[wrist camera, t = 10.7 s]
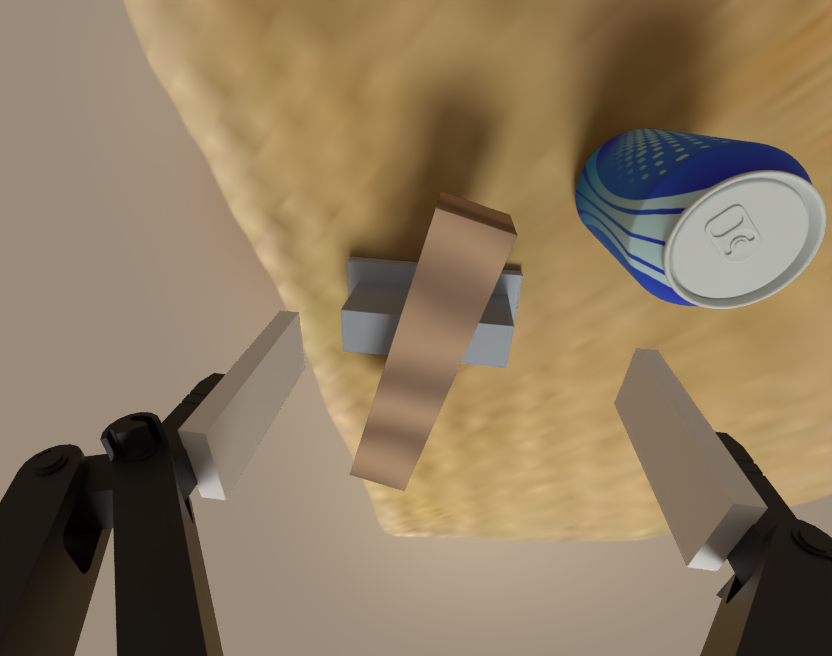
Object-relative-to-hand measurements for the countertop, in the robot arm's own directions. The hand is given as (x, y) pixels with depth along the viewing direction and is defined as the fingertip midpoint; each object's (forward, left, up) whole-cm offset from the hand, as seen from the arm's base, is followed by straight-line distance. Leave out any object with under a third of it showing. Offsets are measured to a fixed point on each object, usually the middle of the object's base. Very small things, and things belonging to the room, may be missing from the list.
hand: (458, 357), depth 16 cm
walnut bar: (+9, -2, -15) cm, 18 cm away
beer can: (-4, +13, -22) cm, 26 cm away
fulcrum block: (+8, -2, -22) cm, 24 cm away
